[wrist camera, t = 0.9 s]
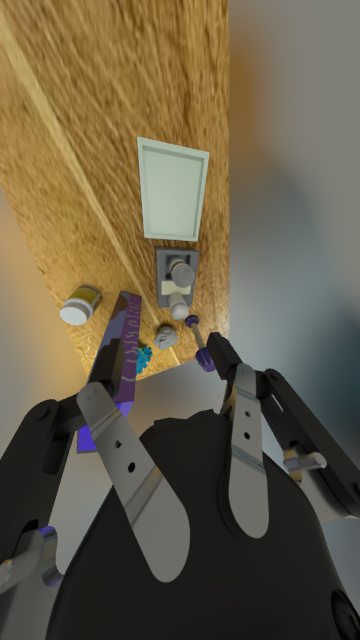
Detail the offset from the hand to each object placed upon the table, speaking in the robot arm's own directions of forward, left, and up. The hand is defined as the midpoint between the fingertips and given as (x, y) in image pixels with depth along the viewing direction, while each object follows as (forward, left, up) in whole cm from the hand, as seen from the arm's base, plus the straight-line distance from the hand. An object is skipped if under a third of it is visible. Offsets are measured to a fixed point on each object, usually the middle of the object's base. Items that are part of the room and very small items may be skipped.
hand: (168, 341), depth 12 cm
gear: (+27, -6, -22) cm, 35 cm away
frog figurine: (+18, +2, -22) cm, 28 cm away
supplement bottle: (+6, -15, -22) cm, 27 cm away
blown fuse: (-2, +4, -21) cm, 21 cm away
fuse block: (+1, +4, -22) cm, 22 cm away
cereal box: (+14, -9, -22) cm, 27 cm away
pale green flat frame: (-12, +3, -22) cm, 25 cm away
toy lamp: (+15, +10, -22) cm, 28 cm away
